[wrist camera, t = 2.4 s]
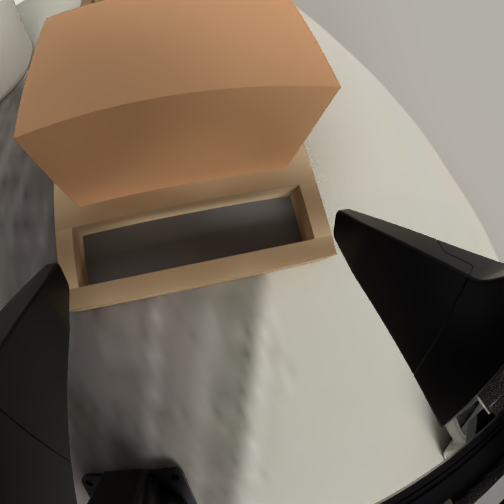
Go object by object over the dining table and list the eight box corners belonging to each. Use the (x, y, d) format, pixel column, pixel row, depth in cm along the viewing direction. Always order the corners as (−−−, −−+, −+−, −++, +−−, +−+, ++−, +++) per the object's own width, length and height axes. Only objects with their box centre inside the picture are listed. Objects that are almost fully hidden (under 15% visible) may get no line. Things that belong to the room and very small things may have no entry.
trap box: (321, 260, 17) (336, 253, 16) (79, 311, 14) (64, 311, 12) (227, -14, 21) (230, -29, 19) (88, 5, 18) (85, -9, 16)
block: (285, 168, 16) (340, 86, 9) (79, 207, 14) (13, 138, 7) (255, 74, 17) (283, -13, 10) (80, 102, 14) (46, 18, 8)
